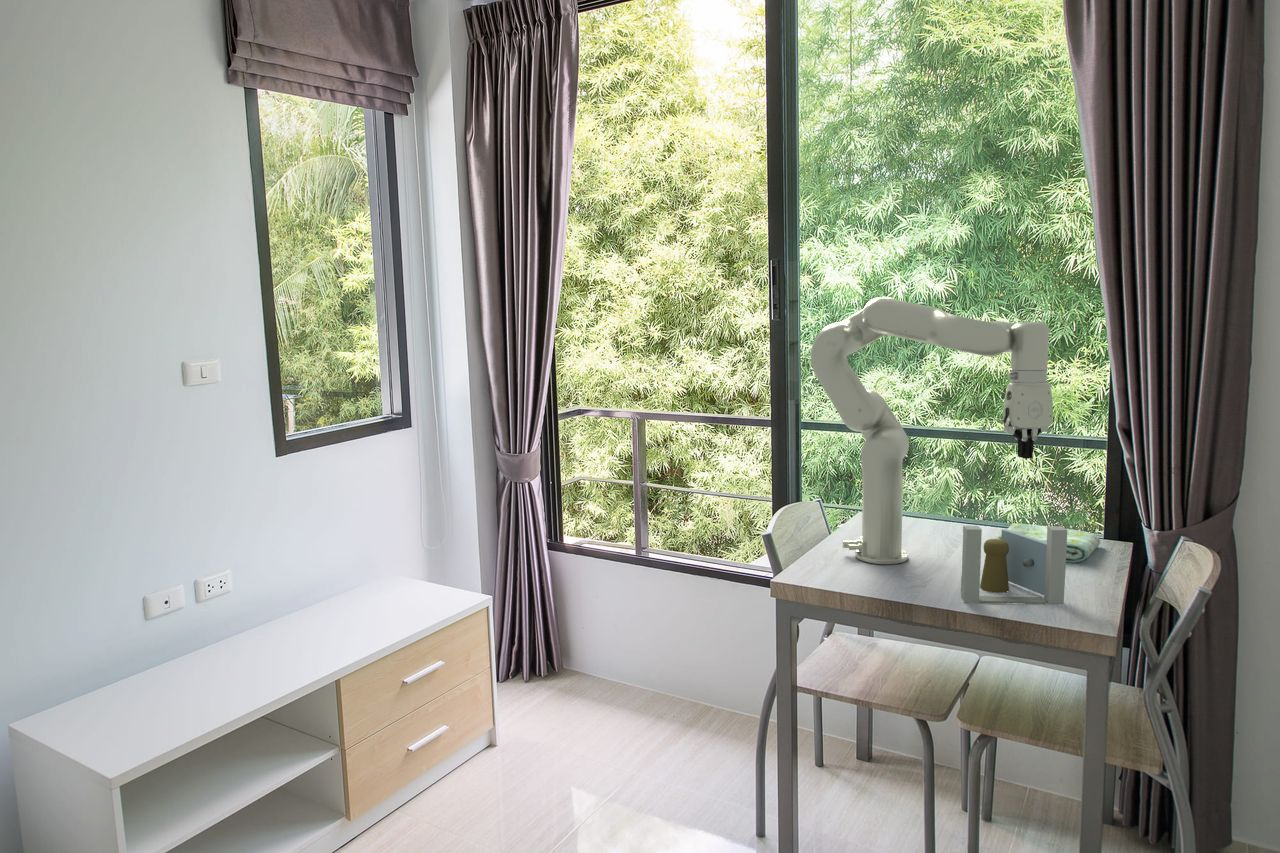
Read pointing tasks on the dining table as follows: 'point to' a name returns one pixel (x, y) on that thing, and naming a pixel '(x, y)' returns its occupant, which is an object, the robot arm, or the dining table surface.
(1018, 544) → the door
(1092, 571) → the dining table surface
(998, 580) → the cork
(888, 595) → the dining table surface
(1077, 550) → the towel
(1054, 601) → the door frame
